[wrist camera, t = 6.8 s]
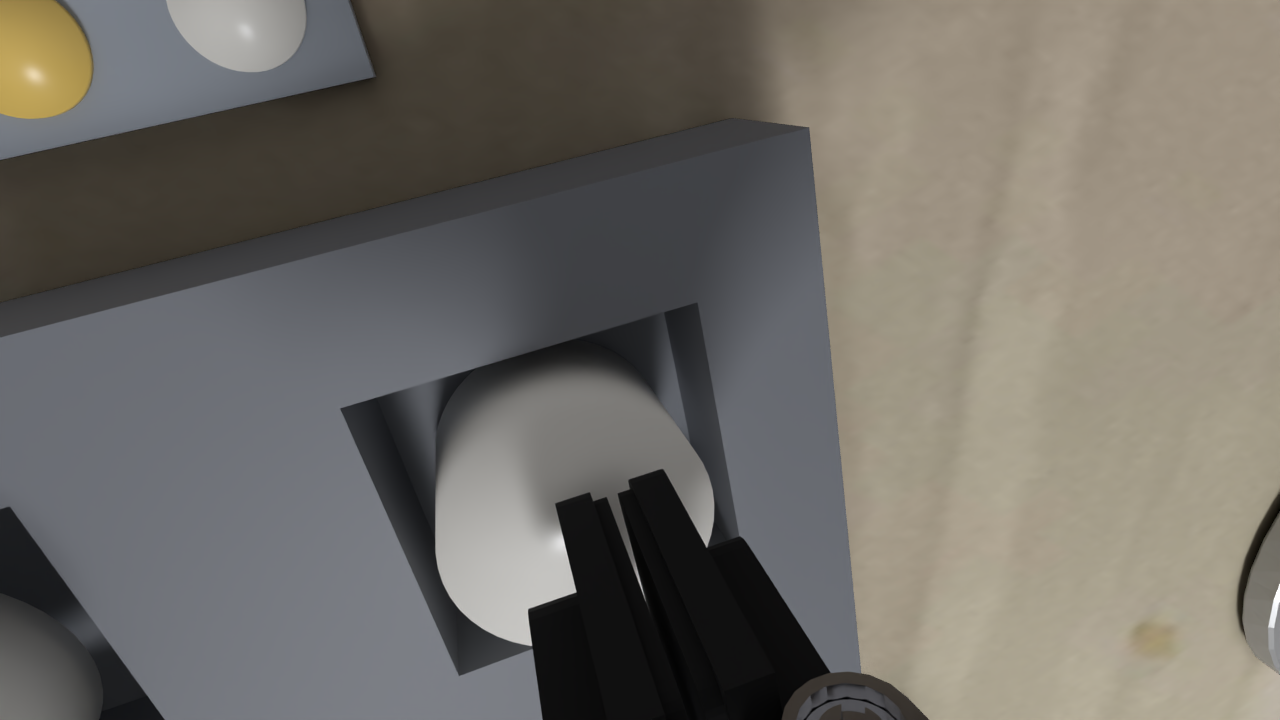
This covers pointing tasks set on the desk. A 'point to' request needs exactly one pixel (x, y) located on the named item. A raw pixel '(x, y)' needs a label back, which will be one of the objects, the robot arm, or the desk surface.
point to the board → (405, 424)
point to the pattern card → (161, 62)
